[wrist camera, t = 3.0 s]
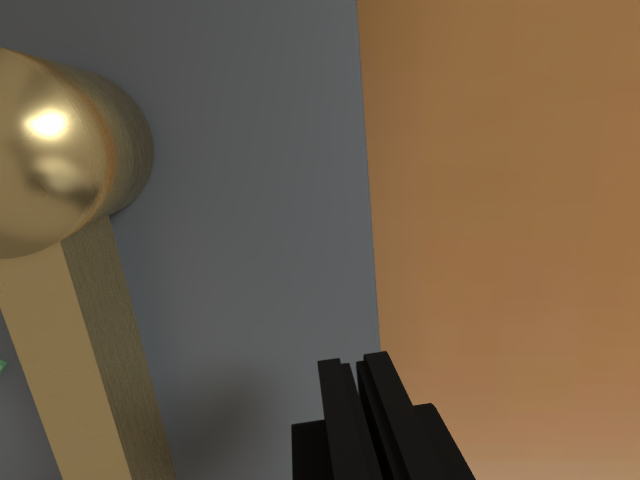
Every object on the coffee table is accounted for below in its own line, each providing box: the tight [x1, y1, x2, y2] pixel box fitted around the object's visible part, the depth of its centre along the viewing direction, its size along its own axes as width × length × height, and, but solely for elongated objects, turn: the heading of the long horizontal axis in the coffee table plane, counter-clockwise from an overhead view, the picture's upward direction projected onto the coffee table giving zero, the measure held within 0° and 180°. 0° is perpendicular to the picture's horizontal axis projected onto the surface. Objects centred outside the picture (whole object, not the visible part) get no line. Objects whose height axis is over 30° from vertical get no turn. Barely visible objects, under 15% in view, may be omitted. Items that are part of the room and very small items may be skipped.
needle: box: [0, 47, 178, 480], centre depth 11 cm, size 14×4×4 cm, turn 6°
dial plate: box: [0, 0, 380, 480], centre depth 12 cm, size 24×20×2 cm
